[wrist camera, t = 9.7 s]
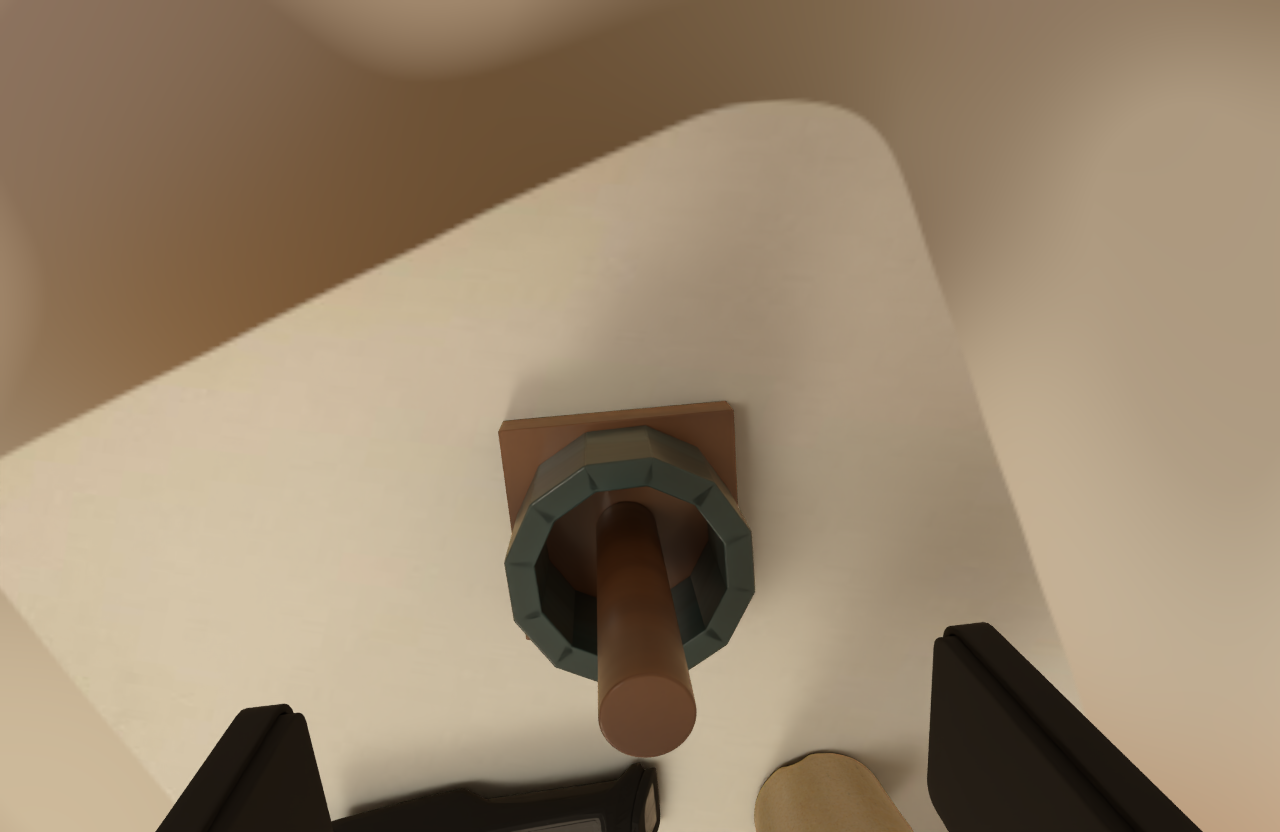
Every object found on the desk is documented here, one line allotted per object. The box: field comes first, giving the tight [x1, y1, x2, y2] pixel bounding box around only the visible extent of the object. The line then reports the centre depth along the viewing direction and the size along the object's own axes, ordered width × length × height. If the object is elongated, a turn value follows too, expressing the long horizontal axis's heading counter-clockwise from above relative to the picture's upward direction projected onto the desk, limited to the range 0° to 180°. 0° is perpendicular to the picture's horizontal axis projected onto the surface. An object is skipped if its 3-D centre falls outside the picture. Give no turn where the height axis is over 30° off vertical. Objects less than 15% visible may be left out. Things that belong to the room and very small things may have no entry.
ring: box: [504, 425, 755, 682], centre depth 25 cm, size 8×8×4 cm
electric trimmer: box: [331, 763, 660, 832], centre depth 31 cm, size 4×16×3 cm, turn 94°
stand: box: [498, 401, 738, 757], centre depth 23 cm, size 9×9×12 cm
